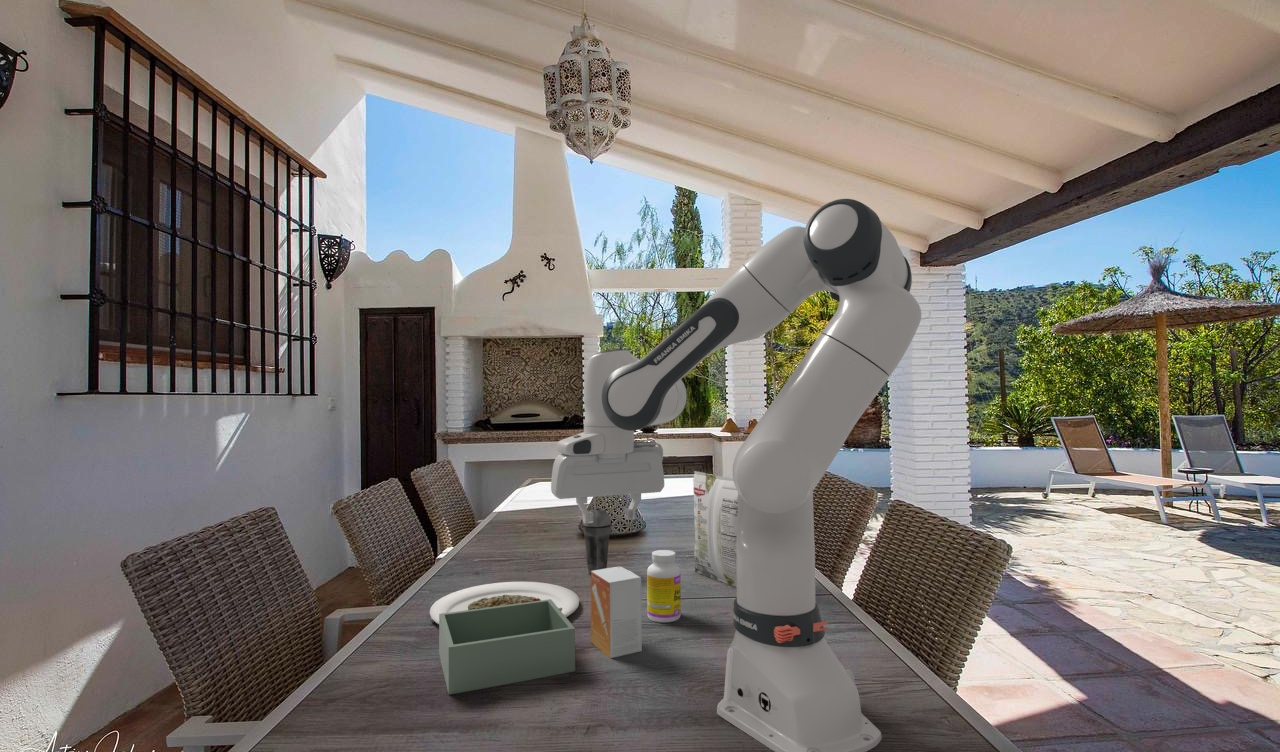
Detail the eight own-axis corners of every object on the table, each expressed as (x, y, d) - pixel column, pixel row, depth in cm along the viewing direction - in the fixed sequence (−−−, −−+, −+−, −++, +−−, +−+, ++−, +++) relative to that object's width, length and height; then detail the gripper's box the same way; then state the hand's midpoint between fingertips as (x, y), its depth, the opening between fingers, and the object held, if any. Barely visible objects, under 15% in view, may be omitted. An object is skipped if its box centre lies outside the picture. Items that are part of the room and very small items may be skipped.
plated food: (458, 589, 149) (458, 574, 150) (588, 590, 148) (588, 575, 148) (404, 639, 120) (404, 621, 120) (566, 642, 118) (566, 623, 118)
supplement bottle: (678, 625, 125) (677, 557, 125) (644, 622, 126) (643, 556, 126) (682, 613, 131) (682, 549, 131) (650, 611, 132) (650, 547, 133)
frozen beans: (762, 591, 144) (760, 479, 145) (742, 596, 141) (741, 481, 142) (704, 570, 162) (703, 469, 162) (685, 573, 159) (684, 471, 159)
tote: (575, 672, 104) (575, 628, 104) (448, 694, 97) (448, 647, 97) (551, 637, 119) (550, 599, 119) (439, 654, 111) (439, 613, 111)
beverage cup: (617, 570, 162) (617, 489, 163) (600, 577, 156) (599, 494, 156) (594, 565, 166) (593, 487, 166) (576, 572, 160) (576, 491, 160)
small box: (590, 643, 116) (589, 570, 116) (622, 636, 119) (621, 565, 119) (609, 660, 109) (609, 582, 109) (643, 652, 112) (642, 576, 112)
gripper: (656, 438, 121) (656, 513, 121) (548, 442, 114) (548, 522, 113) (670, 441, 115) (670, 519, 115) (557, 445, 108) (557, 529, 107)
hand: (609, 520), depth 114 cm, fingers open, 6 cm apart
